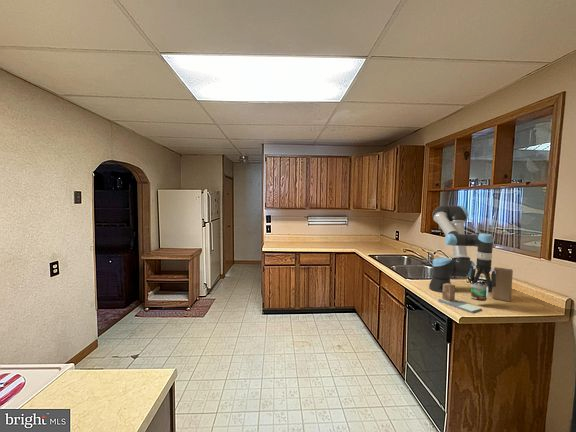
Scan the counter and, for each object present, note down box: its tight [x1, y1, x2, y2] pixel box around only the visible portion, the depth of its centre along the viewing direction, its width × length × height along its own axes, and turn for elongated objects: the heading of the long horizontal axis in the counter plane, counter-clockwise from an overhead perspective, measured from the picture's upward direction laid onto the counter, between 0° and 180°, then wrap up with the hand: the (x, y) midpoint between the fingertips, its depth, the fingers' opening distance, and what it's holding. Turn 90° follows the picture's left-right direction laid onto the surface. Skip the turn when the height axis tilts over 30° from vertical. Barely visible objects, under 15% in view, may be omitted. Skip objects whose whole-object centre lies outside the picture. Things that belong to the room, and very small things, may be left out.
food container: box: [470, 281, 488, 302], centre depth 173 cm, size 12×6×10 cm, turn 106°
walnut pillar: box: [441, 283, 456, 302], centre depth 179 cm, size 5×5×10 cm
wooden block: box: [491, 266, 513, 303], centre depth 187 cm, size 10×10×20 cm
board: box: [437, 298, 482, 314], centre depth 173 cm, size 21×10×1 cm, turn 27°
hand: (481, 295), depth 174 cm, fingers closed on food container, 6 cm apart
